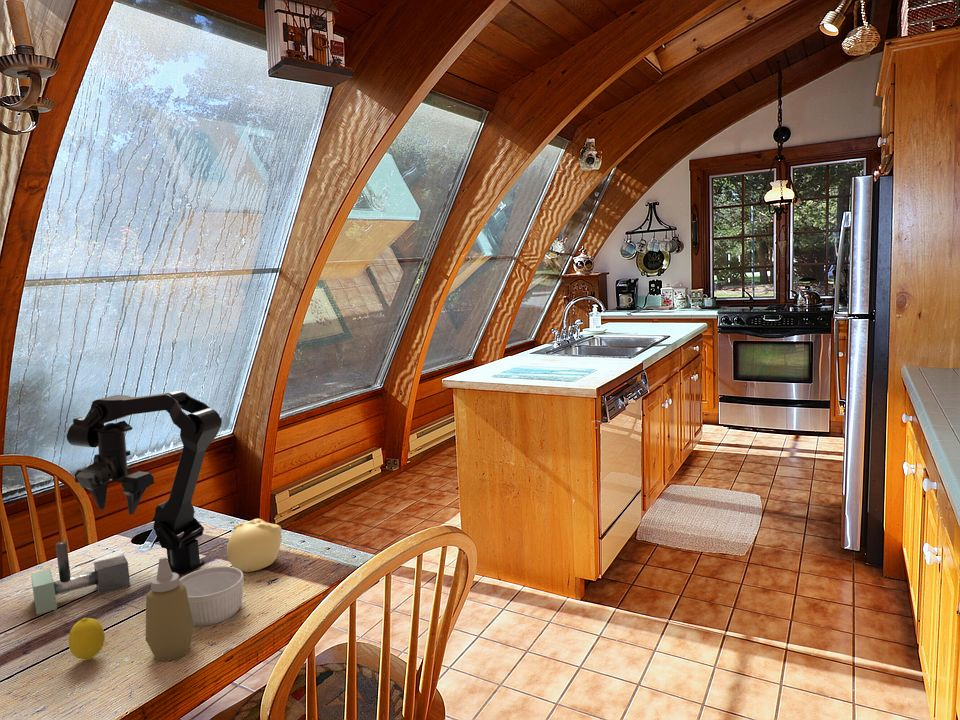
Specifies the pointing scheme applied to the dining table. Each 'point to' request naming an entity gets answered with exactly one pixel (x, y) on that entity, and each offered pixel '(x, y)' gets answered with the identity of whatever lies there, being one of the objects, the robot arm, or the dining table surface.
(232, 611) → the ramekin
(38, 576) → the socket block
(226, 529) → the dining table surface
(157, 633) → the squeeze bottle
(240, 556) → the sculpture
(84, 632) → the lemon
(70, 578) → the dark grey l-shaped piece
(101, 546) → the dining table surface
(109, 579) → the grey cubic block
